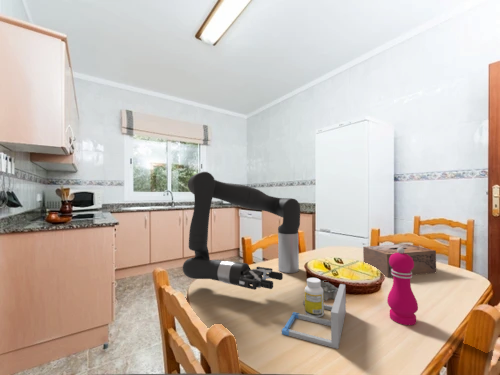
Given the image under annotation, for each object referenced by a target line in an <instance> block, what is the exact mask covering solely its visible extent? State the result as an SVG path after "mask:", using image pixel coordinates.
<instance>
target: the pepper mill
mask: <svg viewBox="0 0 500 375" xmlns="http://www.w3.org/2000/svg"><path fill="white" fill-rule="evenodd" d="M397 251H398V253H394V254H392V255H391V256H390V258H389V264H390V266H391V267H392V268H393V269H391V271H392V272H391V274H392V275H393V277H392V280H393V281H392V282H393V283H392V286H391V289H390V291H388V292H389V293H388V294H387V300H386V301H387V302H386V303H387V305H388V306H389V307H390V309H389V318H390V319H391V320H392V321H393V322H396V323H398V324H400V325H403V326H404V325H405V326H415V325H416V324H417V315H416V313H417V311H418V310H419V305H418V304H419V303H418V300H417V299H416V296H415V294H414V292H413V290H412V287H411V285H412V284H411V279H412V278H413V275H412V272H411V270H412V269H413V268H414V261H413V259H412V258H411V257H410V256H409V255H407V254H405V253H404V252H405V250H404V249H403V248H401V247H400V248H398V249H397Z"/></svg>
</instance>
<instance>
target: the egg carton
mask: <svg viewBox="0 0 500 375" xmlns="http://www.w3.org/2000/svg"><path fill="white" fill-rule="evenodd" d="M320 281H321V286H320V287H322V289H323V293H324V302H325V301H328V300H329V299H332V300H335V298H336V295H337V292H338V289H339V287H336V286H335V285H334V284H332V283H330V282H329V281H328V282H324V281H325V280H320Z"/></svg>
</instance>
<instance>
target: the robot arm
mask: <svg viewBox="0 0 500 375" xmlns="http://www.w3.org/2000/svg"><path fill="white" fill-rule="evenodd" d="M187 187H188V191H189V192H190V193H192V194H193V195H194V198H193V199H194V206H193V213H192V218H191V221H190V225H189V232H188V233H189V235H188V248H189V250H190V251H193V252H194V257H189V258H187V259H186V260H185V261H184V262H183V264H182V272H183V274H184V275H185V276H186V277H188V278H189V279H192V280H194V279H195V280H213V281H217V282H221V283H224V284H227V285H233V286H239V287H242V288H245V289H251V290H255V291H256V290H257V288H258V289H260V288H263V289H264V288H265V289H269V290H273V288H274V281H273V280H278V281H282V280H283V278H284V273H286V274H294V273H298V272H299V268H300V266H299V265H300V264H299V262H300V260H299V255H300V254H299V229H300V224H301V205H300V203H299V201H298V200H297V199H296V198H290V197H289V198H288V197H287V198H286V197H285V198H284V197H283V198H282V197H275V196H271V195H269V194H266V193H265V192H264V191H262V190H260V189H258V188H255V187H251V186H248V185H244V184H238V183H232V182H231V183H229V182H223V181H219V180H217V179H215V178H214V176H213V175H212V173H210V172H208V171H199V172H197V173H195V174H192V176H190V178H189V179H188V181H187ZM213 199H217V200H221V201H224V202H226V203H229V204H232V205H234V206H238V207H242V208H245V209H249V210H256V211H265V212H268V213H271V214H273V215H276V216H278V217H280V218H282V224H280V225H278V228H277V239H278V243H277V244H278V246H277V247H278V250H277V251H278V253H277V254H278V256H277V258H278V260H277V261H278V268H277V269H278V271H279V272H278V271H273V268H270V267H262V266H256V267H255V268H252V269H251V267H250V264H248V263H245V262H239V261H233V260H221V259H210V254H209V248H208V242H209V240H208V239H209V225H210V223H209V221H210V214H211V206H212V202H213ZM270 279H271V280H270ZM272 279H273V280H272Z"/></svg>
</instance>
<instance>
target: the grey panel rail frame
mask: <svg viewBox="0 0 500 375" xmlns="http://www.w3.org/2000/svg"><path fill="white" fill-rule="evenodd" d="M346 296H347V295H346V284H345V283H344V284H343V283H340V284H339V286H338V290H337V295H336V298H335V299H334V302H333V303H332V305H330V304H325V303H324V310H328V311H330V319H326V318H322V317H313V316H309V315H307V314H304V313H299V312H295V311H293V312H292V314H291V316H290V318H289V319H288V320H287V322H286V323H285V325H284V326H283V328H282V329H281V335H283V336H284V335H285V336H288V337H293V338H297V339H301V340H304V341H307V342H311V343H314V344H318V345H323V346H326V347H330V348H333V349H337V350H339V347H340V343H341V338H342V332H343V327H344V323H345V322H344V321H345V318H346V312H347V311H346V310H347V308H346V307H347V306H346V303H347V302H346ZM302 303H303V304H302V305H304V306H305V299H304V300H303V302H302ZM296 319H299V320H304V321H308V322H312V323H316V324H320V325H325V326H328V327H330V331H331V332H330V338H331V339H328V338H324V337H319V336H318V335H317V336H316V335H313V334H310V333H305V332H301V331H297V330H293V329H291V326H292V325H293V323H294V321H295V320H296Z"/></svg>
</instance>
